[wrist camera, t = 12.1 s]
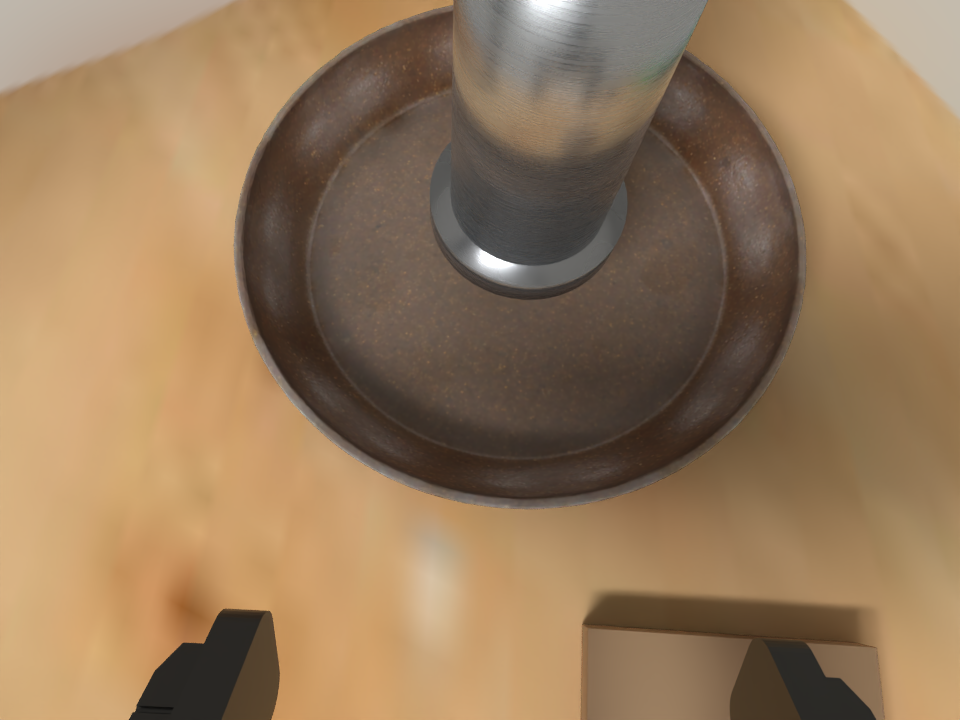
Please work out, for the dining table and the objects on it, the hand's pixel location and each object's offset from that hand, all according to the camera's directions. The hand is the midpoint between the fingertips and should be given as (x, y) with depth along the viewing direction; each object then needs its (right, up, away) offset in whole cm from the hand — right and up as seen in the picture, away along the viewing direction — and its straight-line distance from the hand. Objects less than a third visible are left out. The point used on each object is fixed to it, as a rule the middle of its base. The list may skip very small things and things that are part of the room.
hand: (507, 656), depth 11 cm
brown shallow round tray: (+1, +9, +12) cm, 15 cm away
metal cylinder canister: (+1, +10, +9) cm, 13 cm away
